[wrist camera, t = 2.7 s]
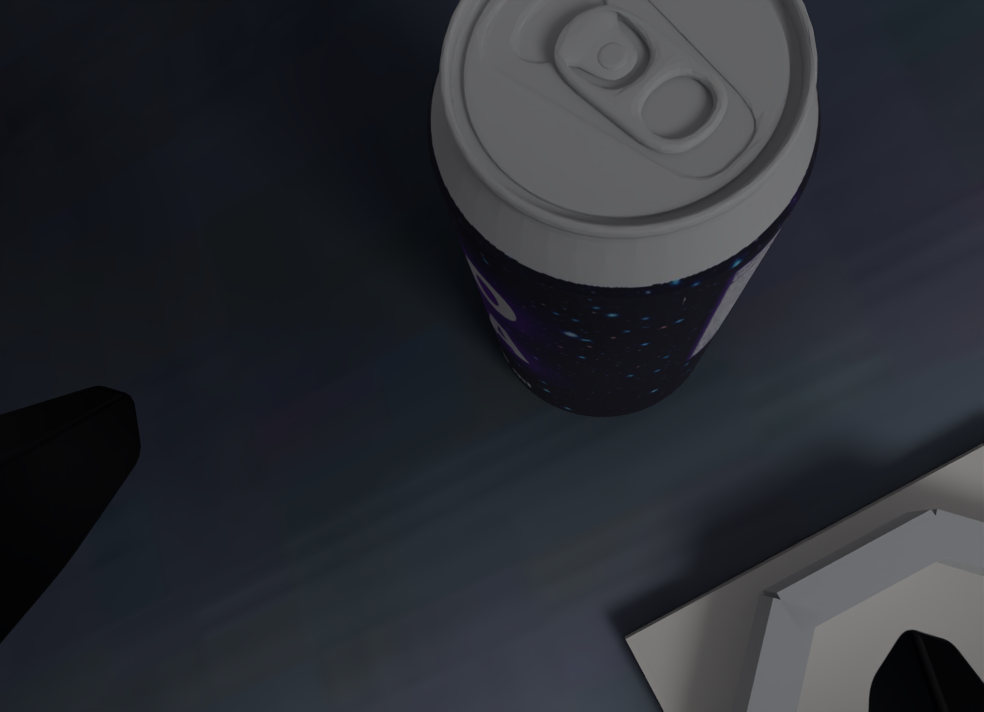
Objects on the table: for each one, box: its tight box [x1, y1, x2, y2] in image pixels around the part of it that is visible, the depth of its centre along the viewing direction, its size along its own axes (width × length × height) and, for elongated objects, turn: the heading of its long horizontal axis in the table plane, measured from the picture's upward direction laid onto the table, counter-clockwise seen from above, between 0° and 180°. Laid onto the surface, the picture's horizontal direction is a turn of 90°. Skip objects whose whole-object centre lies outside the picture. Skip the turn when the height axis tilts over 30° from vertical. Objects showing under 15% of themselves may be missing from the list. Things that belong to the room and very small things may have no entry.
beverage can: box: [428, 0, 821, 417], centre depth 16 cm, size 6×6×12 cm
